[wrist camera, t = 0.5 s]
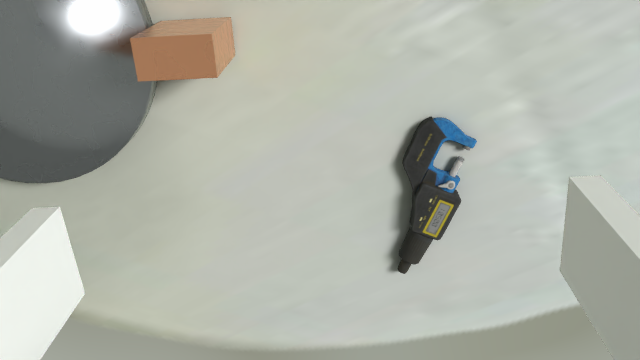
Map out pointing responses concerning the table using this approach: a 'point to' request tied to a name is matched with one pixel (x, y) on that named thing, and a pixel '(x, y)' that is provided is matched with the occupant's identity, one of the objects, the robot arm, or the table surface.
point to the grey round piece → (90, 79)
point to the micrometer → (430, 187)
